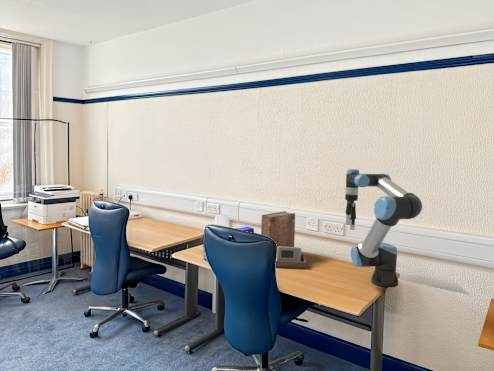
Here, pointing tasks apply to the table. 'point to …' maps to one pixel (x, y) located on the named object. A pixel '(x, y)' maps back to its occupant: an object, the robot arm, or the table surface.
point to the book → (279, 228)
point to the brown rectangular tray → (292, 263)
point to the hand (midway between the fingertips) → (349, 227)
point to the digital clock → (288, 254)
